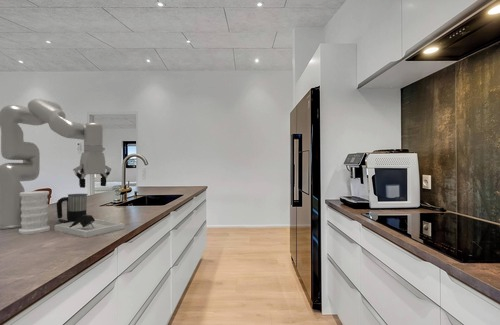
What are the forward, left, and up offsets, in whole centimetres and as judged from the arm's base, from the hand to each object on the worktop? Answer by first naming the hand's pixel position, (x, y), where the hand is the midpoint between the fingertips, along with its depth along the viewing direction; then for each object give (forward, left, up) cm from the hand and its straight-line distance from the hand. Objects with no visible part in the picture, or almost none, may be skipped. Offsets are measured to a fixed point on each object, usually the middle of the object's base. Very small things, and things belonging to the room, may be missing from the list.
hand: (93, 186), depth 129 cm
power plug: (-7, -2, -20) cm, 21 cm away
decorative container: (-23, -14, -21) cm, 34 cm away
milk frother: (-25, +4, -21) cm, 33 cm away
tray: (-3, 0, -20) cm, 21 cm away
